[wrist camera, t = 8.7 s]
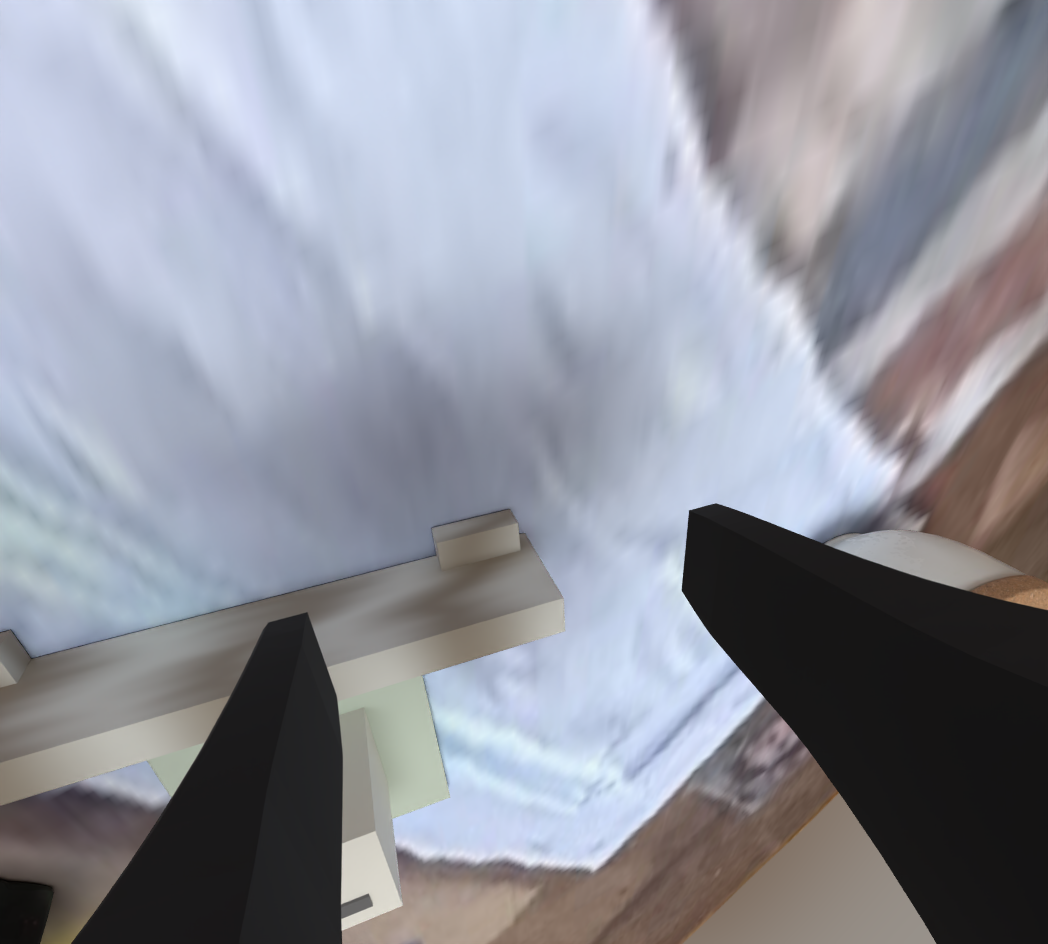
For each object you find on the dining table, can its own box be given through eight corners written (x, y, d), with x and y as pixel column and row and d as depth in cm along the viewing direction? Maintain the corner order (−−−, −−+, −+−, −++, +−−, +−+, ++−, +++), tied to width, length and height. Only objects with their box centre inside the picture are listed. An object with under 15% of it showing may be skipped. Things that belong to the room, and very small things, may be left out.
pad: (413, 638, 22) (415, 649, 21) (447, 785, 27) (450, 797, 26) (134, 719, 19) (129, 734, 19) (227, 865, 24) (225, 880, 24)
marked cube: (363, 707, 22) (375, 834, 18) (387, 781, 24) (402, 908, 20) (229, 749, 21) (207, 897, 16) (268, 823, 23) (258, 968, 19)
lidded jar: (713, 598, 27) (875, 768, 19) (883, 453, 26) (1125, 568, 18) (785, 682, 33) (933, 839, 25) (926, 565, 32) (1125, 689, 24)
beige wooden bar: (522, 505, 21) (562, 568, 17) (529, 586, 23) (566, 656, 19) (-133, 664, 16) (-253, 794, 12) (-52, 750, 18) (-137, 882, 14)
